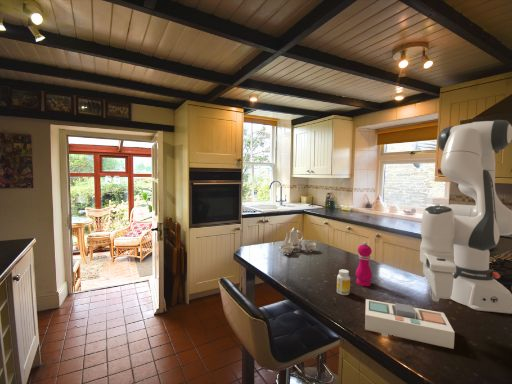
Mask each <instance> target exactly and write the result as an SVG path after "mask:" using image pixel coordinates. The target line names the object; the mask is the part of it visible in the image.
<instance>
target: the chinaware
mask: <svg viewBox="0 0 512 384" xmlns="http://www.w3.org/2000/svg"><path fill="white" fill-rule="evenodd" d="M300 233H301V234H302V236H301V239H299V234H300ZM285 234H286V236H285V238H284V244H283V245H281V246H280V247H279V249H278V252H279V253H282V254H283V255H285V254H290V255H291V254H292V253H299V252H301V249H302V248H303V246H302V244H301V243H303V241H302V240H303V239H304V236H305V235H304V233H303V231H300V230H297V229H296V226H293V227H292V229H289V232H288V231H285ZM303 245H304V248H305V249H306V251H309V252H308V253H313V252H312V251H314V250H315V249H316V248H317V246H318V244H317V243H316V242H304V243H303ZM280 249H281V250H282V251H280ZM292 251H293V252H292ZM298 251H299V252H298Z"/></svg>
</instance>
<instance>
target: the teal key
mask: <svg viewBox="0 0 512 384" xmlns="http://www.w3.org/2000/svg"><path fill="white" fill-rule="evenodd" d="M370 311H374V312H380V313H385V314H387V308H386V305H381V304H376V303H370Z"/></svg>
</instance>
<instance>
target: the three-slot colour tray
mask: <svg viewBox="0 0 512 384" xmlns="http://www.w3.org/2000/svg"><path fill="white" fill-rule="evenodd" d="M370 303H376V304H381V305H386V308H387V314H385V313H380V312H374V311H370ZM413 308H414V311H415V319H411V318H406V317H401V316H396V314H395V303H390V302H383V301H379V300H377V301H376V300H373V299H367V298H365V310H364V311H365V314H364V316H365V317H364V318H365V319H364V320H365V321H364V322H365V323H364V330H366V331H370V332H375V333H379V334H384V335H388V334H389V335H388V336H392V335H393V337H398V338H403V339H406V340H412V341H416V342H421V343H426V344H429V345H434V346H438V347H443V348H448V349H453V350H455V348H454V347H455V333H456V332H455V331H454V329H453V327H452V325H451V324H450V322H449V320H448V318H447V316H446V314H445V313H444V312H442V311H434V310H429V309H423V308H418V307H413ZM422 312H426V313H431V314H437V315H441V317H442V319H443V321H444V323H445V325H442V324H437V323H432V322H427V321H422Z"/></svg>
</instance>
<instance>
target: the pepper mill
mask: <svg viewBox="0 0 512 384" xmlns="http://www.w3.org/2000/svg"><path fill="white" fill-rule="evenodd" d="M357 252H358V253H357V254H358V259H359V263H358V267H357V268H356V270H355V277H356V284H357V285H359V286H362V287H369V286H372V285H371V284H372V278H373V273H372V272H373V271H372V269H371V268H370V260H371V255H372V252H373V251H372V248H371V246H370V245H368V243H367V242H366V241H363V242H362V244H360V245H359V246H358V248H357Z"/></svg>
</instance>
